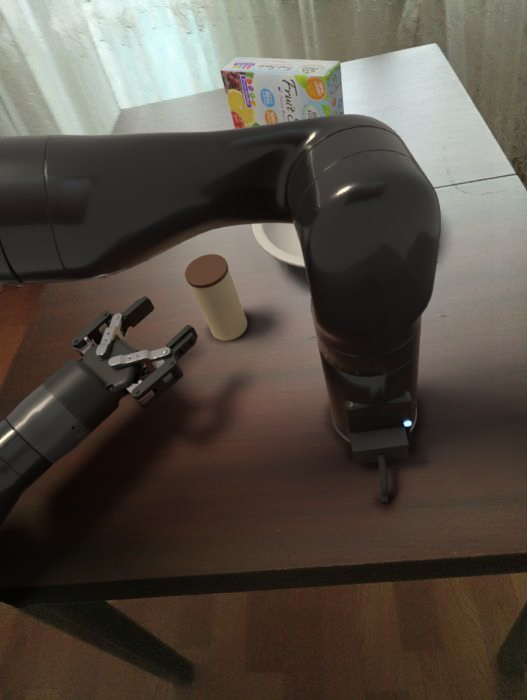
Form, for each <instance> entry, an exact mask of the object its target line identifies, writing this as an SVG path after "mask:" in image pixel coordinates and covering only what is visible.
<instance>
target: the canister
mask: <svg viewBox="0 0 527 700" xmlns="http://www.w3.org/2000/svg"><path fill="white" fill-rule="evenodd" d="M184 277H185V280H186V283H188V285H189V286H190V289H191V291H192V293H193V295H194V297H195V300H196V302H197V304H198V306H199V308H200V310H201V312H202V315H203V317H204V319H205V321H206V323H207V325H208V329H209V330H210V332H211V335H212V336H213V338H215V339H216V340H219V341H223V342H228V341H232V340H235V339H237V338H240V337H241V336H242V335H243V334H244V332H245V331H246V330H247V327H248V320H247V317H246V314H245V311H244V308H243V306H242V303H241V300H240V297H239V295H238V291H237V288H236V286H235V283H234V280H233V277H232V275H231V273H230V269H229V265H228V261H227V260H226V258H225V257H223V256H221V255H220V254H215V253H208V254H203V255H201V256H199V257H197V258H194V259H193V260H192V261H191V262H190V263H189V264H188V265H187V267H186V268H185V271H184Z"/></svg>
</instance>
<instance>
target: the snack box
mask: <svg viewBox="0 0 527 700" xmlns="http://www.w3.org/2000/svg"><path fill="white" fill-rule="evenodd" d="M341 65H342V64H341V61H340V60H322V59H321V60H319V59H299V58H298V59H297V58H293V59H292V58H273V57H269V58H268V57H251V56H248V57H247V56H234V58H232V59H231V60H230V61H229V62H228V63H227V64H226V65H224V66H223V67H222V68H221V69H220V70H219V71H220V75H221V80H222V85H223V87H224V91H225V94H226V98H227V102H228V103H227V104H228V106H229V111H230V114H231V118H232V123H233V126H234V129H238V128H246V127H253V126H260V125H266V124H273V123H280V122H287V121H294V120H300V119H307V118H314V117H321V116H329V115H341V114H345V107H344V106H345V105H344V94H343V93H344V92H343V81H342V66H341Z"/></svg>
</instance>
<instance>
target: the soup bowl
mask: <svg viewBox="0 0 527 700" xmlns="http://www.w3.org/2000/svg"><path fill="white" fill-rule="evenodd" d="M251 230H252V235H253V237H254V239H255V241H256V242H257V244H258V245H259V246H260V248H261V249H262V250H263V251H264V252H265V253H267V254H268V255H269V256H271V257H273V258H275V259H276V260H277V261H280V262H282V263H283V264H284V263H285V264H287V265H290V266H295V267H298V268H304V269H305V264H304V259H303V254H302V250H301V246H300V242H299V239H298V236H297V233H296V230H295V227H294V224H286V223H263V224H251Z"/></svg>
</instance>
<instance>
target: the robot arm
mask: <svg viewBox="0 0 527 700" xmlns="http://www.w3.org/2000/svg"><path fill="white" fill-rule="evenodd" d="M441 210H442V209H441V204H440V199H439V195H438V194H437V190H436V189H435V187H434V184H432V182H431V180H430V179H429V177H428V176H427V174H426V173H425V172H424V169H422V167H421V166H420V164H419V162H418V161H417V159H416V158H415V157H414V155H413V153H412V152H411V151H410V149H409V147H408V146H407V144H406V143H405V141H404V140H403V139H402V137H401V136H400V135H399V134H398V133H397V132H396V131H395V129H393V127H391V126H390V125H388V124H387V123H385V122H383V121H381V120H379V119H377V118H375V117H373V116H369V115H364V114H356V113H344V114H341V115H329V116H321V117H314V118H307V119H300V120H294V121H287V122H280V123H273V124H266V125H260V126H253V127H246V128H238V129H235V128H231V129H221V130H211V131H210V130H209V131H166V132H137V133H135V132H134V133H111V134H109V133H108V134H33V135H32V134H30V135H29V134H28V135H26V134H25V135H3V136H0V286H28V285H43V284H57V283H58V284H59V283H73V282H74V283H75V282H83V281H84V282H85V281H92V280H97V279H103V278H108V277H111V276H114V275H117V274H119V273H122V272H124V271H128V270H130V269H133V268H134V267H136V266H139V265H141V264H143V263H146V262H148V261H149V260H151V259H153V258H155V257H157V256H159V255H160V254H163V253H165V252H167V251H169V250H171V249H173V248H175V247H177V246H178V245H180V244H183V243H184V242H186V241H188V240H191V239H193V238H195V237H197V236H199V235H203V234H205V233H208V232H210V231H214V230H219V229H223V228H228V227H234V226H245V225H252V224H263V223H286V224H294V227H295V230H296V233H297V236H298V239H299V242H300V246H301V250H302V254H303V259H304V264H305V268H304V269H305V273H306V278H307V282H308V283H307V284H308V289H309V294H310V301H309V302H310V304H309V305H310V312H311V316H312V322H313V326H314V331H315V336H316V341H317V347H318V351H319V357H320V363H321V366H322V371H323V376H324V381H325V386H326V391H327V396H328V397H327V398H328V401H329V405H330V406H329V407H330V412H331V415H330V416H331V420H332V424H333V427H334V429H335V431H336V433H337V434H338V435H339V436H340V437H341V439H342V440H344V442H346V443H347V444H349V446H350V448H351V452H352V456H353V463H354V465H362V464H370V463H371V464H372V463H377V465H378V473H379V480H380V481H379V482H380V494H379V495H380V503H381V504H385V505H387V504H389V477H388V469H387V461H395V460H403V459H408V458H409V447H410V445H411V434H412V433H413V431H414V430H415V427H416V424H417V419H418V408H417V407H418V406H417V405H418V404H417V403H418V385H419V383H418V382H419V365H420V350H421V349H420V348H421V335H422V317H423V314H424V312H425V311H426V309H427V308H428V306H429V304H430V302H431V300H432V296H433V293H434V289H435V280H436V274H437V273H436V272H437V267H438V260H439V252H440V243H441V235H442V211H441ZM154 310H155V306H154V304H153V302H152V301H151V299H150V298H149V297H147V296H142V297H141V298H139V299H137V300H136V301H134V302H133V303H132V304H131V305H130V306H129V307H127V308H126V309H125V310H124V311H122V312H121V313H120V312H118V313H115V314H114V313H111V312H110V311H109V310H104V311H102V312H101V313H100V314H98V316H97V317H95V319H93V320H92V321H91V322H90V323H89V324H88V325H87V326H86V327H84V328H83V329H82V330H81V331H80V332H79V333H78V334H77V335H75V336H74V337H73V338H72V339H71V341H70V344H71V346H72V347H73V349H74V350H75V351H76V352H77V353H78V354H79V355H80V356H81V358H80V359H79V360H78V359H77V358H71V359H70V360H68V361H67V362H66V363H65V364H63V365H62V366H61V367H60V368H58V370H57V371H55V372H54V373H52V375H50V376H49V377H48V378H47V379H46V380H44V381H43V382H42V383H41V384H40V385H39V386H37V387H36V388H35V389H34V390H33V391H32V392H31V393H29V394H28V395H27V396H26V397H25V398H24V399H22V400H21V401H20V402H19V403H18V405H17V406H16V407H15V408H14V409H13V410H12V411H11V412H10V413H9V414H8V415H7V416H6V418H4V419H2V421H0V528H1V527H2V525H3V524H4V522H5V521H6V519H7V518H8V516H9V515H10V514H11V512H12V511H13V509H14V508H15V507H16V504H17V503H18V501H19V500H20V498H21V496H23V494H24V493H25V491H26V490H28V489H29V488H30V487H31V486H32V485H33V484H35V482H36V481H37V480H39V479H40V478H41V477H42V476H43V475H44V474H45V473H47V471H48V470H50V469H51V468H52V467H53V466H54V465H55V464H56V463H58V462H59V461H60V460H61V459H62V458H63V457H65V456H67V455H68V454H70V452H72V451H73V450H74V449H76V448H77V447H78V446H79V445H80V444H81V443H82V442H83V441H84V440H86V438H87V437H89V435H91V434H92V433H93V432H94V431H95V430H96V429H97V428H98V427H99V426H100V425H102V424H103V423H104V422H105V421H106V420H107V419H108V418H109V417H110V416H111V415H112V414H113V413H114V412H115V411H116V410H118V409H119V407H120V402H121V400H122V399H123V398H124V397H126V396H128V395H131V396H132V397H133V399H134V400H135V401H136V403H137V404H138V405H139V407H140V408H141V409H147V408H149V407H150V406H151V405H152V404H154V403H155V402H156V401H157V400H158V399H159V398H160V397H161V396H162V395H163V394H165V393H166V392H167V391H168V390H169V389H171V388H172V387H173V386H174V385H175V384H177V383H178V382H179V381H180V380H181V379H182V378H183V377H184V372H183V370H182V367H181V366H180V364H179V361H180V359H182V357H183V356H185V355H186V354H187V353H188V351H190V350H191V349H192V348H193V347H194V346H196V344H197V342H198V338H199V335H198V333H197V331H196V329H195V327H194V326H193V325H190V324H187V325H185V326H184V327H183V328H181V330H180V331H179V332H178V333H176V334H175V335H174V336H173V337H172V338H171V339H170V340H169V341H167V343H166V344H165V347H161V348H158V349H153V350H149V349H142V350H139V349H137V348H135V346H131V345H129V343H128V340H127V339H128V336H129V334H130V331H131V328H133V329H134V328H135V327H137V326H138V325H139V324H140V323H141V322H142V321H143V320H145V319H146V318H147V317H148V316H149V315H150V314H151V313H153V312H154ZM104 324H105V326H104ZM101 327H103V328H102V329H101V330H100V328H101Z"/></svg>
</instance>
